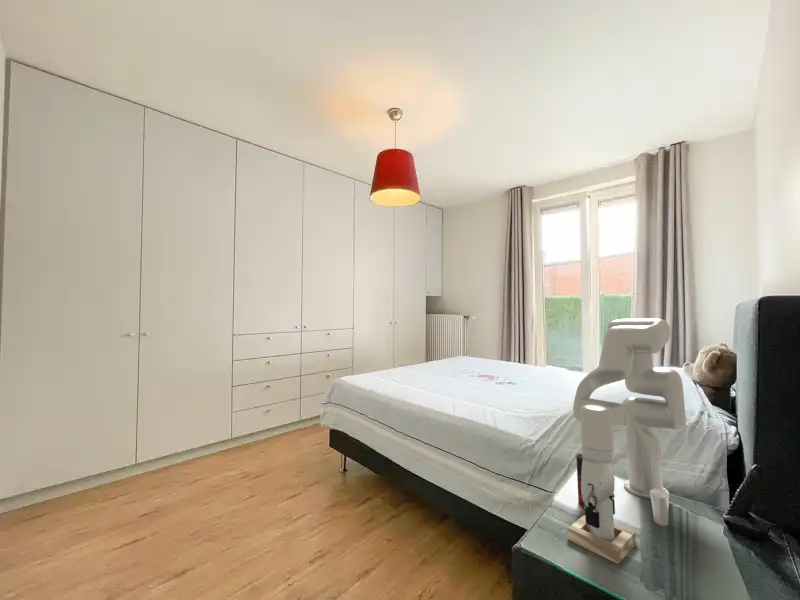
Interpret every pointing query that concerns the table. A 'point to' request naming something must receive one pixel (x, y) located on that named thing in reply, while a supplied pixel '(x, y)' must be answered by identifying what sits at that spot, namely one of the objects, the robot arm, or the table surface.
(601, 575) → the table surface
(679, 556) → the table surface
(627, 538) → the holder
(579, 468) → the deodorant
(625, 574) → the table surface
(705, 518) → the table surface
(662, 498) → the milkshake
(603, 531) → the skincare box
